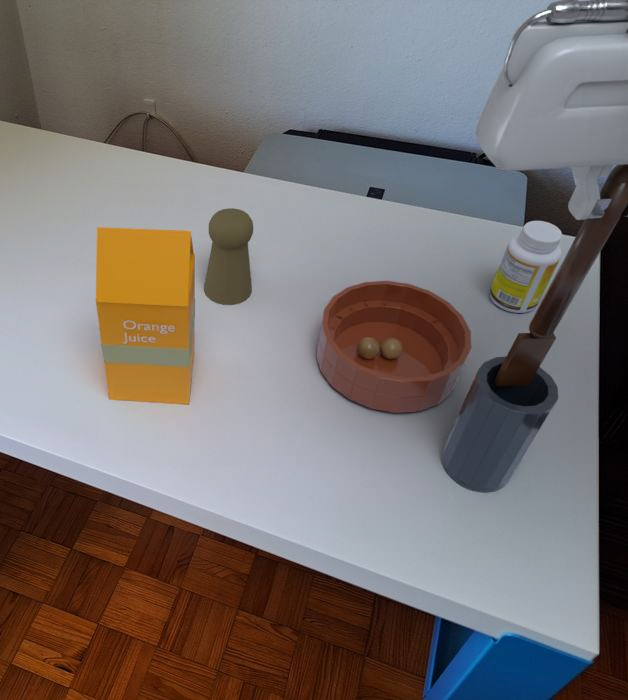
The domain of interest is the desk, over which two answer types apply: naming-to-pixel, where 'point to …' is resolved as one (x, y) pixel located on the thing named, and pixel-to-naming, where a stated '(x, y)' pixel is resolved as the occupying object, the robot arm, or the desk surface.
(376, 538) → the desk surface
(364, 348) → the bead
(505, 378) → the stir paddle
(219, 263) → the olive game pawn
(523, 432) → the crock
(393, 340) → the bead
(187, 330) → the orange juice
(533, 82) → the robot arm
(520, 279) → the supplement bottle
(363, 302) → the bowl
